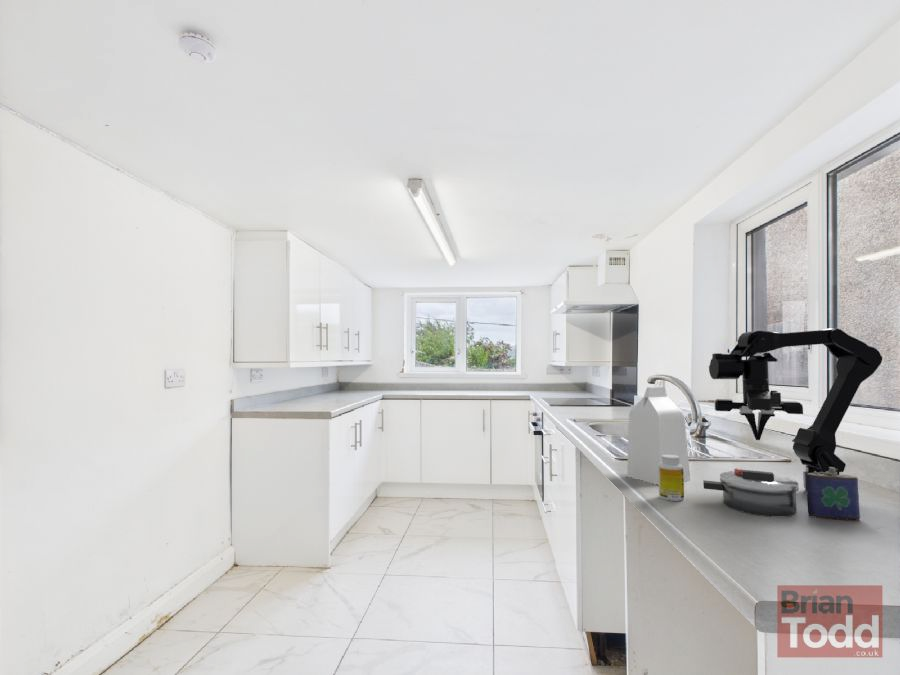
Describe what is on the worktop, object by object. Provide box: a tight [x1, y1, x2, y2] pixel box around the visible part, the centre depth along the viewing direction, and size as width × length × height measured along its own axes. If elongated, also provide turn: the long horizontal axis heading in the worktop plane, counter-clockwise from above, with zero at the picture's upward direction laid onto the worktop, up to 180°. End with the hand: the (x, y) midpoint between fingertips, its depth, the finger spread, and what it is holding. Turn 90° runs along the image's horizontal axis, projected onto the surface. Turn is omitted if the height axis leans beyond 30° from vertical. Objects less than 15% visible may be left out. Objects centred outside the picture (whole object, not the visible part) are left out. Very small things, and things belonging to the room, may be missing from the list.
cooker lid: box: [719, 468, 799, 493], centre depth 107 cm, size 15×15×3 cm
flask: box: [806, 467, 861, 521], centre depth 100 cm, size 9×3×11 cm, turn 74°
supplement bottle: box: [658, 455, 685, 502], centre depth 114 cm, size 6×6×10 cm
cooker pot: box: [702, 480, 798, 517], centre depth 109 cm, size 18×16×5 cm
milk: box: [626, 386, 691, 486], centre depth 134 cm, size 12×12×26 cm
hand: (757, 440), depth 120 cm, fingers closed
